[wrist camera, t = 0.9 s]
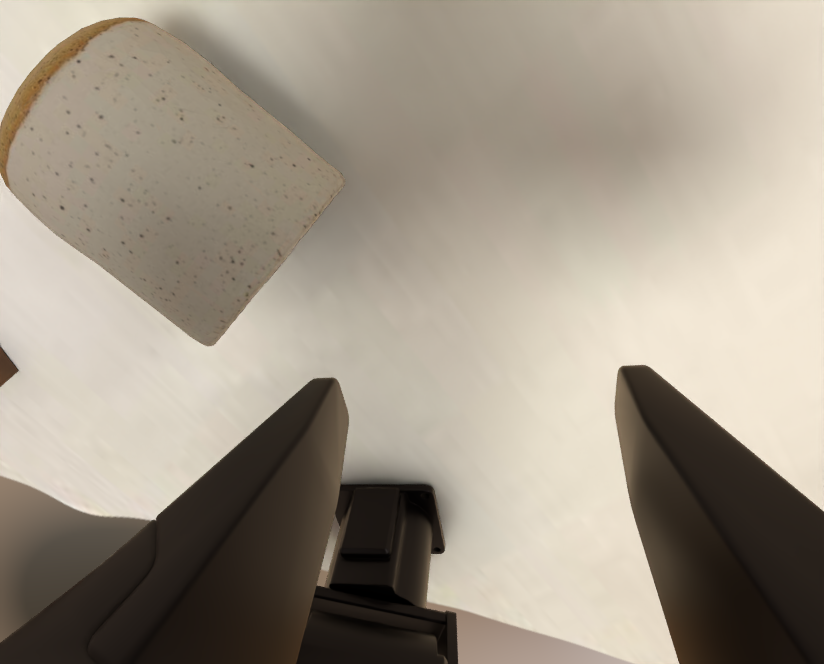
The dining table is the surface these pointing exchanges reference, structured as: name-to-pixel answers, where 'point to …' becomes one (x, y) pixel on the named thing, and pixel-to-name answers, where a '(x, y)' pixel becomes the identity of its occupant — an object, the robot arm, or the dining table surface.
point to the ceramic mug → (161, 171)
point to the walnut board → (6, 368)
